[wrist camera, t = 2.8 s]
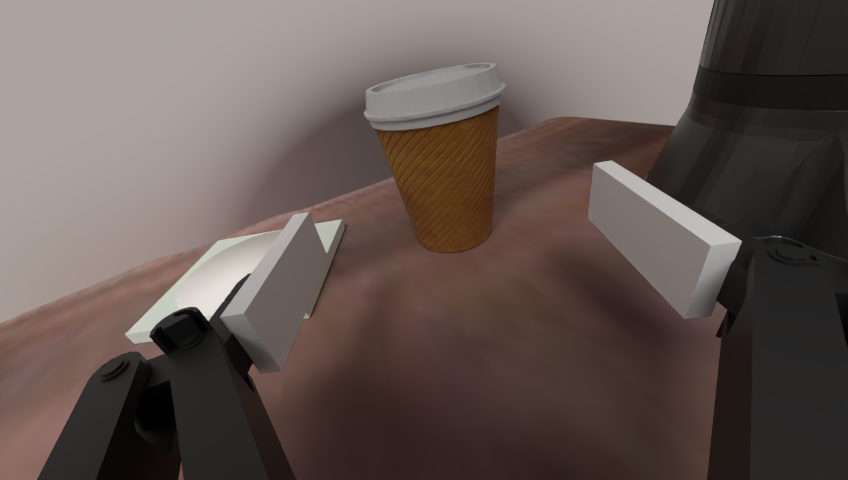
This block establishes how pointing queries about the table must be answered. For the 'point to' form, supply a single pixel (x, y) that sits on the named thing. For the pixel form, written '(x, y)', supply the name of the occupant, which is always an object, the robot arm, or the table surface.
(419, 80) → the disposable coffee cup
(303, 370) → the table surface
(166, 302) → the coaster board
